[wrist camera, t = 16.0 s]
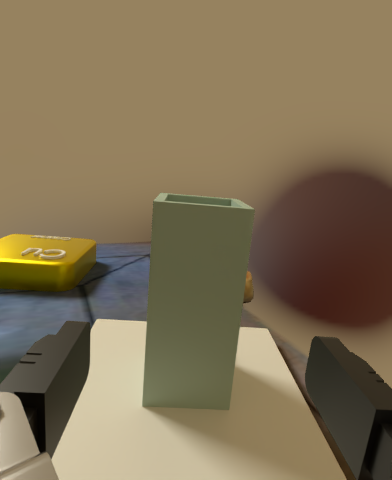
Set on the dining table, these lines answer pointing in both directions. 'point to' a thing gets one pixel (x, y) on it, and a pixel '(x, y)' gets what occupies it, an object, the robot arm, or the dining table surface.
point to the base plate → (190, 420)
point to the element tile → (44, 262)
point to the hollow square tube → (195, 300)
